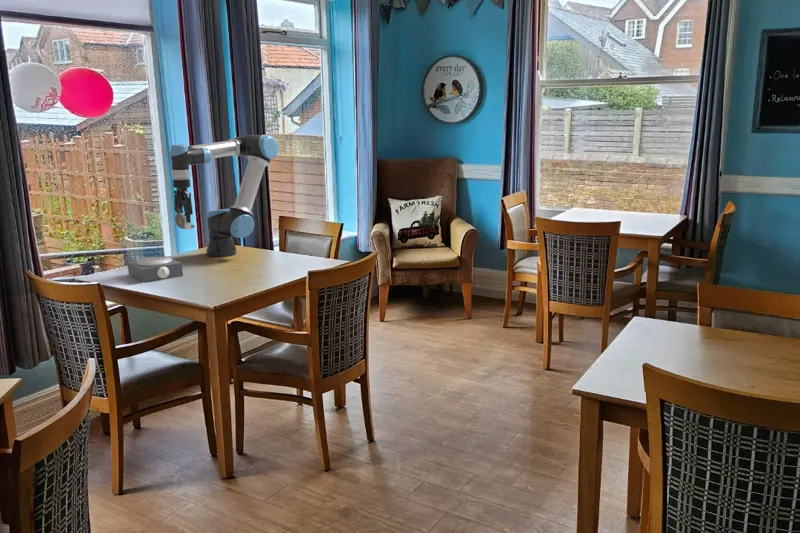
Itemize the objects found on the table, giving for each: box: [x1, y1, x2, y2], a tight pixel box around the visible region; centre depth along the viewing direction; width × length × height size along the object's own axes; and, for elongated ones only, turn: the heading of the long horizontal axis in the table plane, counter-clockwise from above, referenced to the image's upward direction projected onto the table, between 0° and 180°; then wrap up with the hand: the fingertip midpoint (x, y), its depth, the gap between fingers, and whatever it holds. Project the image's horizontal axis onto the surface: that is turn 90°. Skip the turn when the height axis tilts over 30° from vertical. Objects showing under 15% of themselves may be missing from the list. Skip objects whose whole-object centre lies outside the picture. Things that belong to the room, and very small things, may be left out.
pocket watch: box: [174, 208, 195, 230], centre depth 313 cm, size 8×8×10 cm
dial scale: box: [127, 255, 184, 283], centre depth 305 cm, size 19×18×7 cm
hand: (184, 228), depth 314 cm, fingers closed on pocket watch, 7 cm apart
